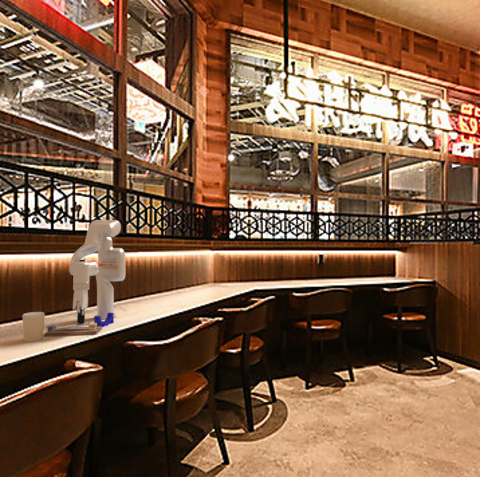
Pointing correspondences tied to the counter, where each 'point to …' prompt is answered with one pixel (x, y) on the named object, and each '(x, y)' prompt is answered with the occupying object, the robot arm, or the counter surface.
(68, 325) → the strap
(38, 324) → the coffee cup
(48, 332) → the board
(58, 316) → the counter surface
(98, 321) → the cable clip
